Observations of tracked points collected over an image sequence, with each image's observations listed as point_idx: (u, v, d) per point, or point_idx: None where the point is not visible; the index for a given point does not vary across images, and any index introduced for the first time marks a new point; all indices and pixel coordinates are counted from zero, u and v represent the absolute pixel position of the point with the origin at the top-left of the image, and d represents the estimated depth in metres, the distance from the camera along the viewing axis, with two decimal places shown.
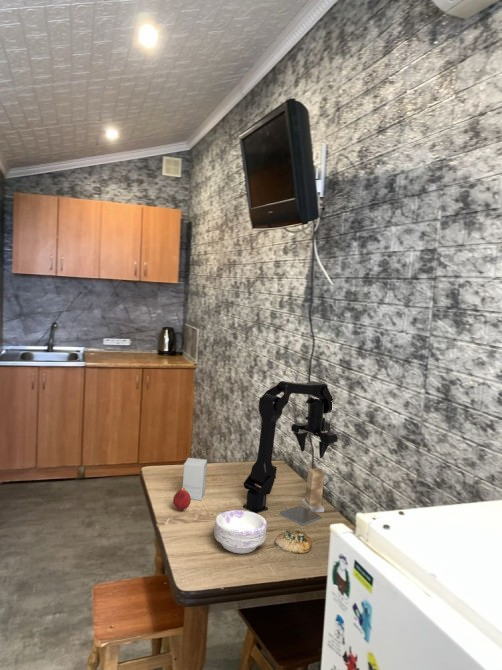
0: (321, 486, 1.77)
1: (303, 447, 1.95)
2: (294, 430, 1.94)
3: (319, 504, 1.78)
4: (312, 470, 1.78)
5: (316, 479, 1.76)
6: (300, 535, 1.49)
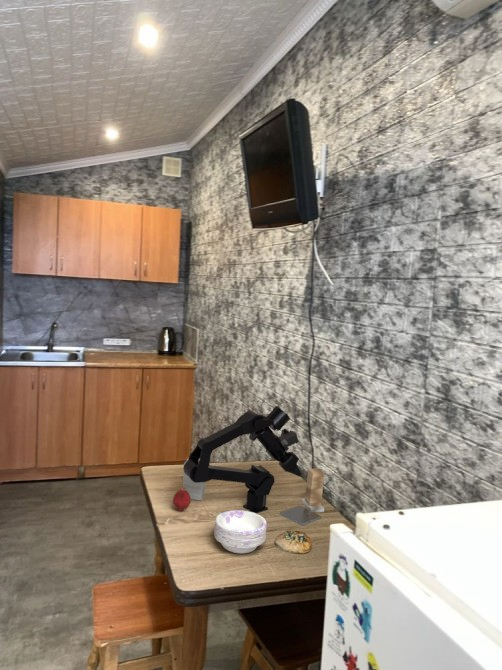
0: (321, 486, 1.77)
1: None
2: None
3: (319, 504, 1.78)
4: (312, 470, 1.78)
5: (316, 479, 1.76)
6: (300, 535, 1.49)
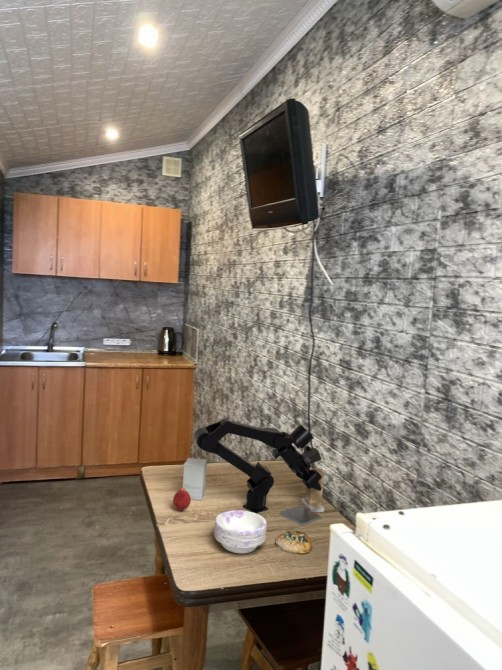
0: (321, 486, 1.77)
1: None
2: None
3: (319, 504, 1.78)
4: None
5: None
6: (301, 535, 1.49)
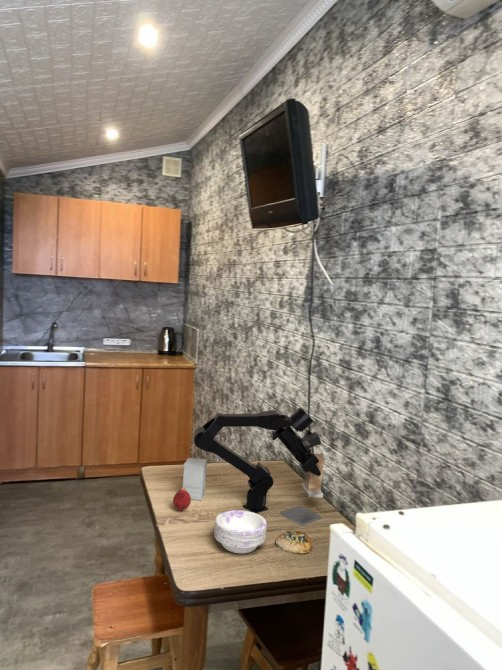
0: (321, 471, 1.74)
1: None
2: None
3: (318, 490, 1.74)
4: None
5: None
6: (301, 535, 1.49)
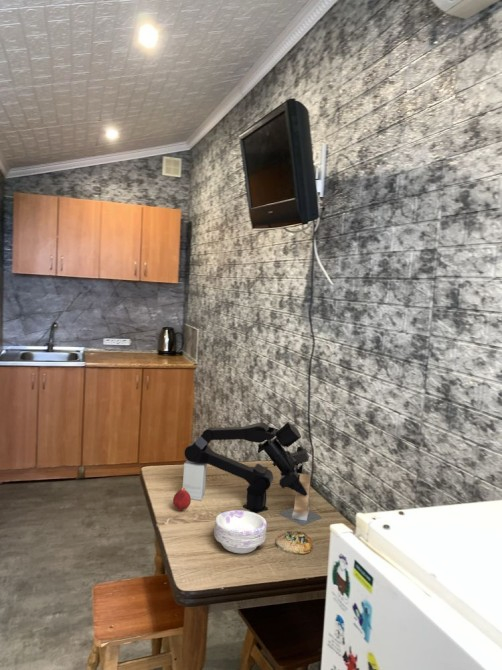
0: None
1: None
2: None
3: (305, 512, 1.68)
4: (300, 475, 1.70)
5: None
6: (301, 536, 1.49)
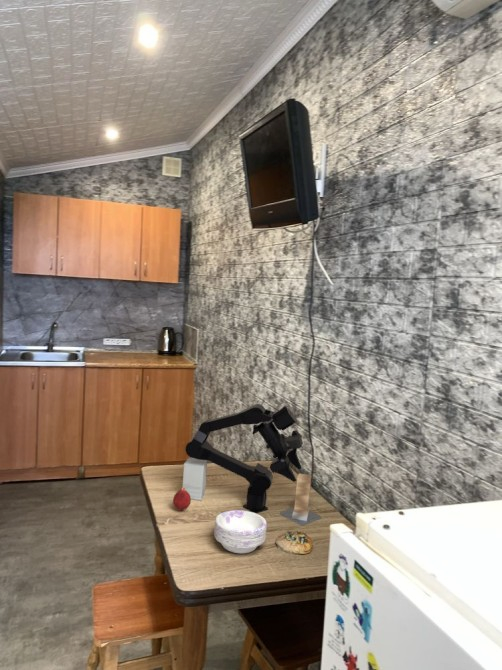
0: (307, 493, 1.67)
1: (297, 465, 1.75)
2: None
3: (305, 512, 1.68)
4: (301, 475, 1.70)
5: (301, 485, 1.67)
6: (301, 536, 1.49)
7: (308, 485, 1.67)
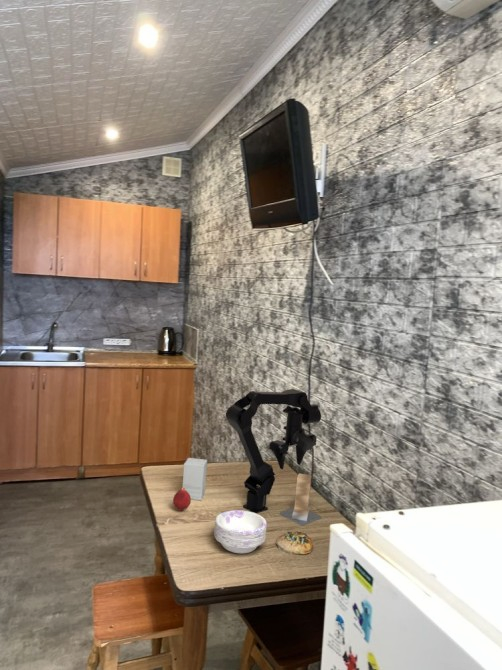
0: (307, 493, 1.67)
1: (298, 460, 1.84)
2: None
3: (305, 512, 1.68)
4: (301, 475, 1.70)
5: (301, 485, 1.67)
6: (301, 536, 1.49)
7: (308, 485, 1.67)
